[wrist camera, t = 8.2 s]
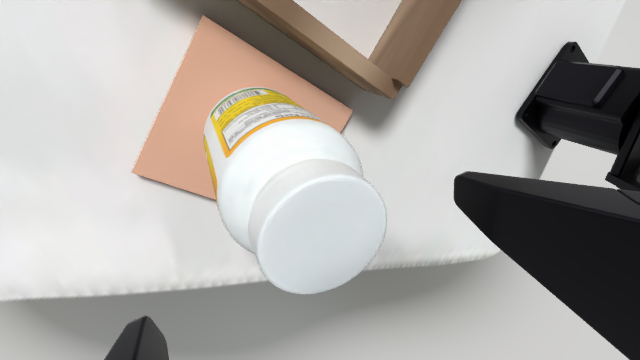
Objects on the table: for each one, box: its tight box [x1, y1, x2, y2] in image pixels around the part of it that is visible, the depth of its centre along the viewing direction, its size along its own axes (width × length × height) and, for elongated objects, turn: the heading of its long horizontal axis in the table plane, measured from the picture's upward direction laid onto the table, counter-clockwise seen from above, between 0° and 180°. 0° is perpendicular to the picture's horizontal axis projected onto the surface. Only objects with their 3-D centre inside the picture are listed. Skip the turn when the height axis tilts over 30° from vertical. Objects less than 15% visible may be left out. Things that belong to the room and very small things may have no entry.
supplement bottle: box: [203, 87, 387, 294], centre depth 13 cm, size 5×5×10 cm
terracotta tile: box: [132, 15, 353, 200], centre depth 17 cm, size 9×8×1 cm
